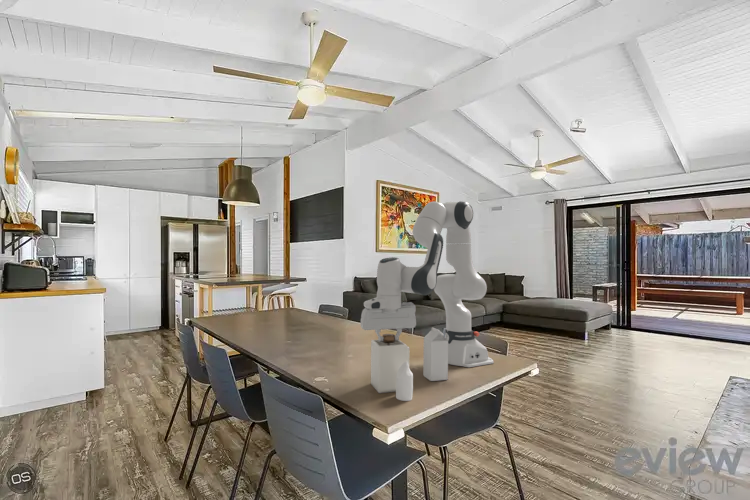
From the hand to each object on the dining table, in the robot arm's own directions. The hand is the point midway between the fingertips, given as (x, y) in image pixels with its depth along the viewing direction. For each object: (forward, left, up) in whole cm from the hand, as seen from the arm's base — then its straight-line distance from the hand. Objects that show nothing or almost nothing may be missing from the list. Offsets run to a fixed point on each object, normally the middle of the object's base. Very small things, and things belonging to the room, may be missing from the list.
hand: (388, 341), depth 135 cm
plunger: (0, 0, -13) cm, 13 cm away
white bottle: (-2, +11, -17) cm, 20 cm away
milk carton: (-21, -5, -17) cm, 27 cm away
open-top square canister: (-1, 0, -16) cm, 16 cm away
